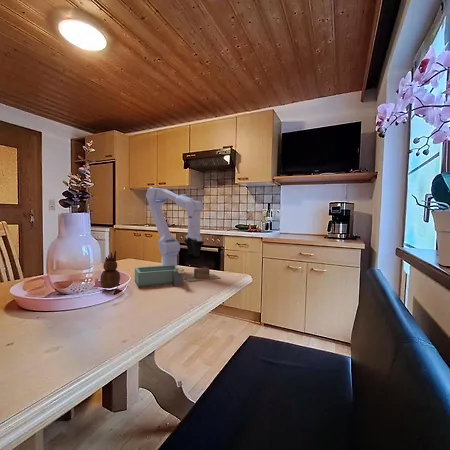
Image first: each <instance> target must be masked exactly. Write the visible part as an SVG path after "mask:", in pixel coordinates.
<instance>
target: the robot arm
mask: <svg viewBox="0 0 450 450" xmlns="http://www.w3.org/2000/svg"><path fill="white" fill-rule="evenodd" d="M145 197H146V200H147V203H148V209H149V212H150V214H151V216H152V217H151V218H152V220H153V222H154V225H155V226H156V227H155V228H156V230H157V232H158V236H159V237H160V239H159V240H158V242H157V244H158V250H159V253H160V255H161V263H160V264H161V265H160V266H164V265H177V266H178V255H179V252H180V250H181V244H180V242H179V241H178V240H177V238H176V237H175V236H174V235H172V233H171V231H170V228H169V225H168V223H167V221H166V218H165V216H164V213H163V210H162V207H163V205H164V203H166V201H167V199H169V200H171V201H173V202H175V204H176V205H177V206H178V207H180V208H182V209H184V210H186V214H187V234H186V235H185V236H184V237H185V238H186V239H183V240H184V242H185V245H186V249H187V253H188V255H193V256H194V257H199V256H200V254H201V250H202V248H203V245H204V243H205V241H203V239H202V236H201V212H202V211H203V208H204V205H203V203H202V201H200V200H195V199H194V198H193V197H188V196H187V194H185V193H183V194H176V193H175V192H173V191H170V190H169V189H166V188H159V187H153V186H150V187H149V188H148V189H147V190H146V193H145Z"/></svg>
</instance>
